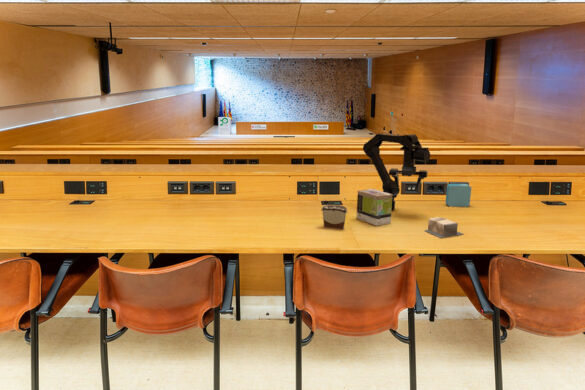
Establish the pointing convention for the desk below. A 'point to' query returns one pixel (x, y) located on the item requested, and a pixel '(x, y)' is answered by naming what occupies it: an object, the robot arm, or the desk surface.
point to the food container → (334, 216)
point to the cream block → (442, 226)
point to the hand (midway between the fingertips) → (407, 189)
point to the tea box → (374, 206)
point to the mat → (442, 235)
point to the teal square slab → (458, 195)
